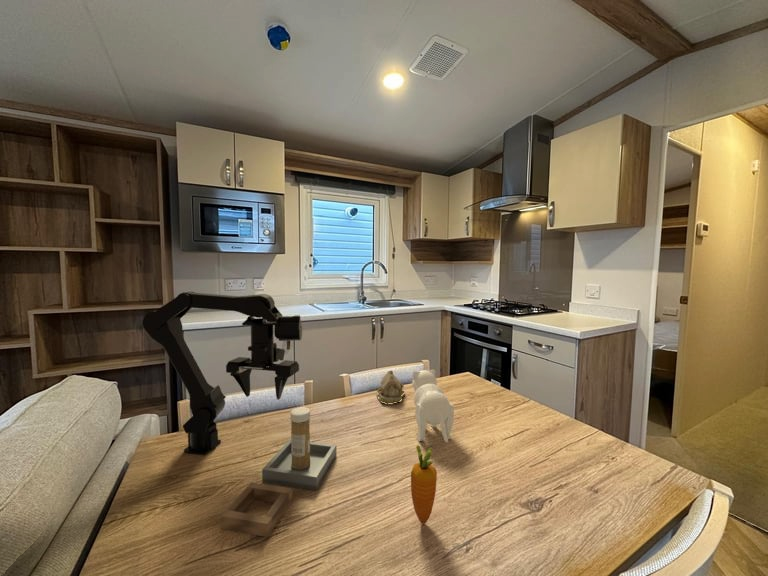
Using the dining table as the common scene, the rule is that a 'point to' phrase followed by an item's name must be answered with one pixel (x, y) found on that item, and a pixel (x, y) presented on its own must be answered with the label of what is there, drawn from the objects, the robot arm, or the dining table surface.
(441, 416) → the cat figurine
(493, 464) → the dining table surface
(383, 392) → the ceramic model
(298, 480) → the tray
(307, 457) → the sprinkles bottle
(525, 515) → the dining table surface
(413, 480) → the carrot
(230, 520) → the holder collar
